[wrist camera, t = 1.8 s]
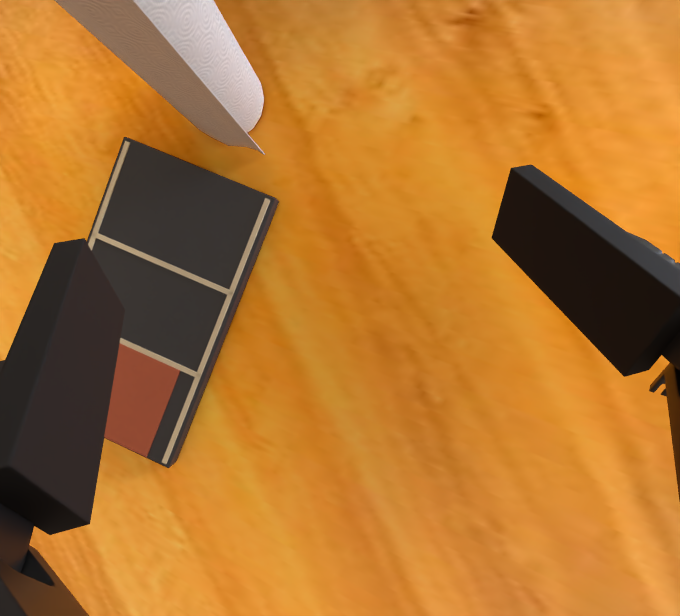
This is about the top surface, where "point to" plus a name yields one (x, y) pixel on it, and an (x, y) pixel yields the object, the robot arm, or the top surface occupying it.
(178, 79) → the paper towel roll
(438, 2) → the top surface
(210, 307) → the grid board
